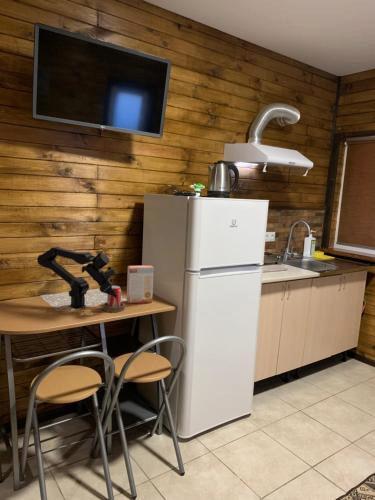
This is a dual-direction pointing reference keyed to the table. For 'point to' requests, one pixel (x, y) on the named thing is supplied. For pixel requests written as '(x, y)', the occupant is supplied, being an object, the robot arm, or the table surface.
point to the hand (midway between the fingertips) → (116, 294)
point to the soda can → (114, 298)
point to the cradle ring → (114, 308)
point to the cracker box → (140, 284)
